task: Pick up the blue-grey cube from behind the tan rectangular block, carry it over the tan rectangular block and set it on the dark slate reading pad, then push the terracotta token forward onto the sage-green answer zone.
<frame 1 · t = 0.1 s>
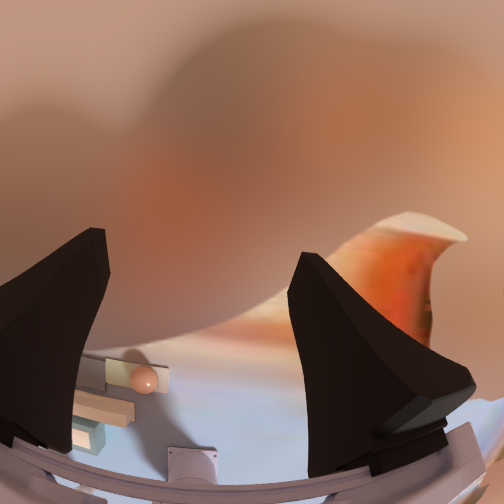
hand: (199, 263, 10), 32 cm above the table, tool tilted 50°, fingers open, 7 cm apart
reading pad: (88, 372, 35), on the table
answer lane: (133, 375, 36), on the table
blue-grey cube: (91, 427, 32), on the table
lightbulb: (89, 484, 29), on the table
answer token: (145, 378, 36), resting on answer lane
tan rectangular block: (100, 404, 34), on the table
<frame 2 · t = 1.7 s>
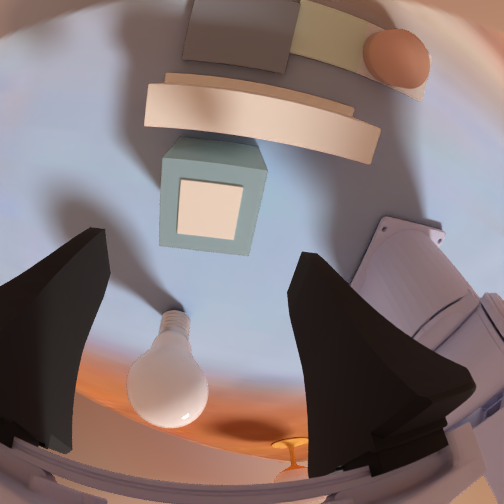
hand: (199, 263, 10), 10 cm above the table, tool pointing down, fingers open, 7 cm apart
reading pad: (241, 28, 12), on the table
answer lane: (361, 47, 13), on the table
blue-grey cube: (213, 176, 18), on the table
cup: (290, 441, 54), on the table
lightbulb: (177, 313, 25), on the table
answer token: (389, 58, 13), resting on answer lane
tan rectangular block: (258, 108, 15), on the table
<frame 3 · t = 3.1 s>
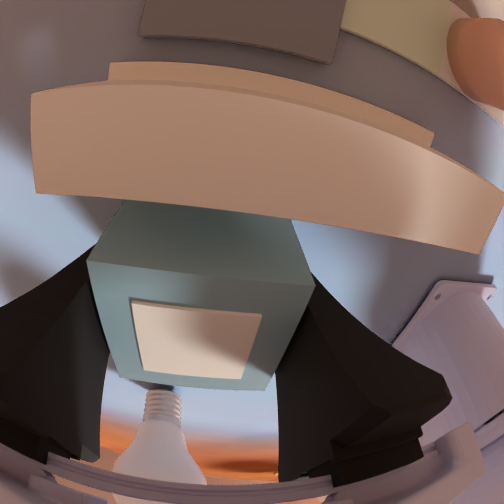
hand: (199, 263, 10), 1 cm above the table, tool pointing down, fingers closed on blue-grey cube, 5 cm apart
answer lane: (442, 36, 6), on the table
blue-grey cube: (203, 241, 11), on the table, touching gripper
cup: (293, 470, 48), on the table
lightbulb: (164, 388, 18), on the table
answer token: (477, 60, 6), resting on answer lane
tan rectangular block: (280, 124, 9), on the table
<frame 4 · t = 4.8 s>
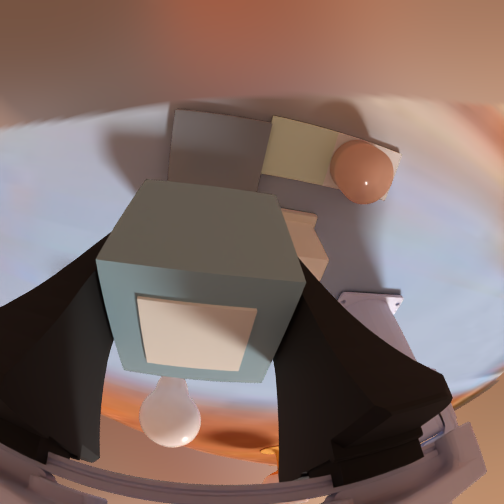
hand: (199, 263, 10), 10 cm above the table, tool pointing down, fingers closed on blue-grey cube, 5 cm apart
reading pad: (217, 150, 17), on the table
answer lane: (329, 158, 18), on the table
blue-grey cube: (203, 241, 12), point 8 cm above the table, touching gripper
cup: (277, 448, 59), on the table
lightbulb: (175, 356, 30), on the table
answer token: (355, 166, 18), resting on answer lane
tan rectangular block: (234, 221, 20), on the table
when the fingers open (3 cm above the table, at t = 6.7 s): blue-grey cube stays where it is, resting on reading pad.
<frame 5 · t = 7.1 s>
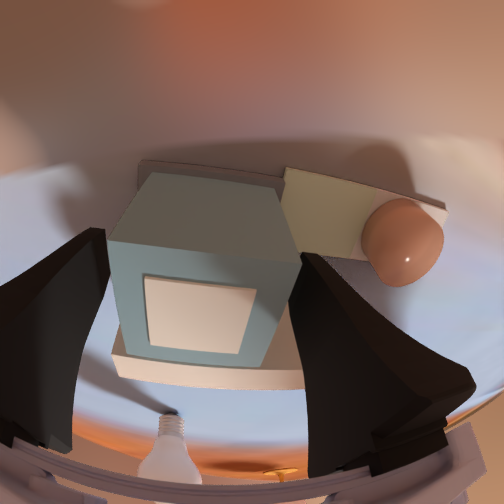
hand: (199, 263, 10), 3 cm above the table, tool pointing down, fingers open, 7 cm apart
reading pad: (205, 219, 12), on the table
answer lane: (361, 223, 13), on the table
blue-grey cube: (205, 232, 12), point 1 cm above the table, touching reading pad
cup: (280, 470, 55), on the table
lightbulb: (172, 412, 25), on the table
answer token: (394, 232, 13), resting on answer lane
tan rectangular block: (232, 301, 16), on the table
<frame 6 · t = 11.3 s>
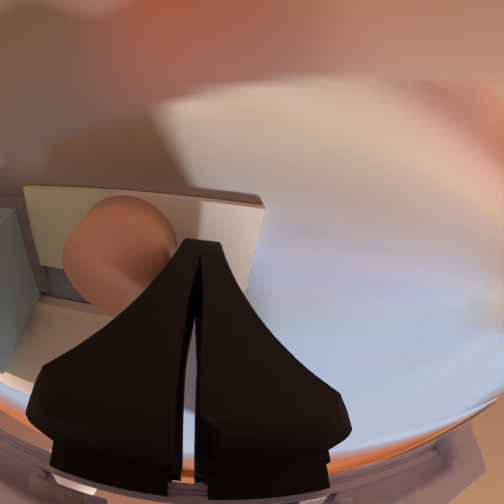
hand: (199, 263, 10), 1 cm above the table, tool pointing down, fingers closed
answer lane: (119, 235, 10), on the table
lightbulb: (79, 413, 22), on the table
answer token: (127, 242, 10), resting on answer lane, touching gripper
tan rectangular block: (48, 313, 13), on the table
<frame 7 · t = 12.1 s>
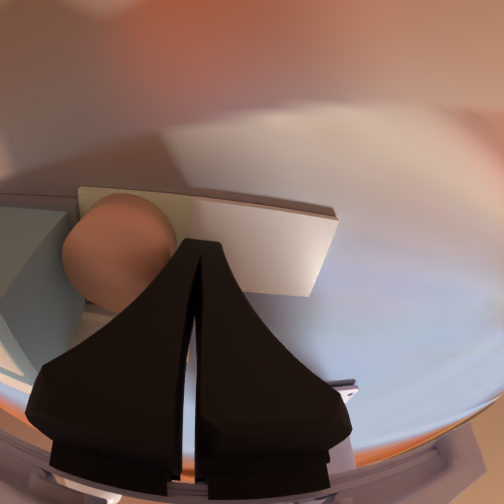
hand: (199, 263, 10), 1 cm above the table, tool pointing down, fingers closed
reading pad: (36, 243, 10), on the table
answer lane: (189, 242, 11), on the table
blue-grey cube: (33, 256, 10), point 1 cm above the table, touching reading pad
lightbulb: (101, 419, 23), on the table
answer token: (127, 240, 10), resting on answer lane, touching gripper
tan rectangular block: (89, 322, 13), on the table
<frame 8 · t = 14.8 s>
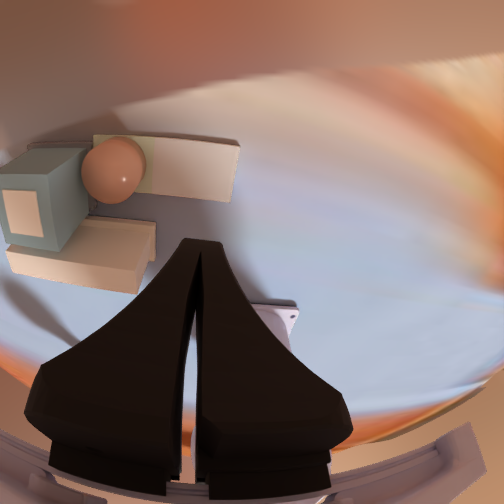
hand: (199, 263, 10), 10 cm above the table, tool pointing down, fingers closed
reading pad: (62, 173, 16), on the table
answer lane: (153, 165, 17), on the table
blue-grey cube: (59, 180, 16), point 1 cm above the table, touching reading pad
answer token: (119, 164, 17), resting on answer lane
tan rectangular block: (89, 232, 20), on the table
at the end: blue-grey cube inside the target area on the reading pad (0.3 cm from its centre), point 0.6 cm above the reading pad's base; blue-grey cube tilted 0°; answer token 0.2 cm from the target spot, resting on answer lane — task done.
